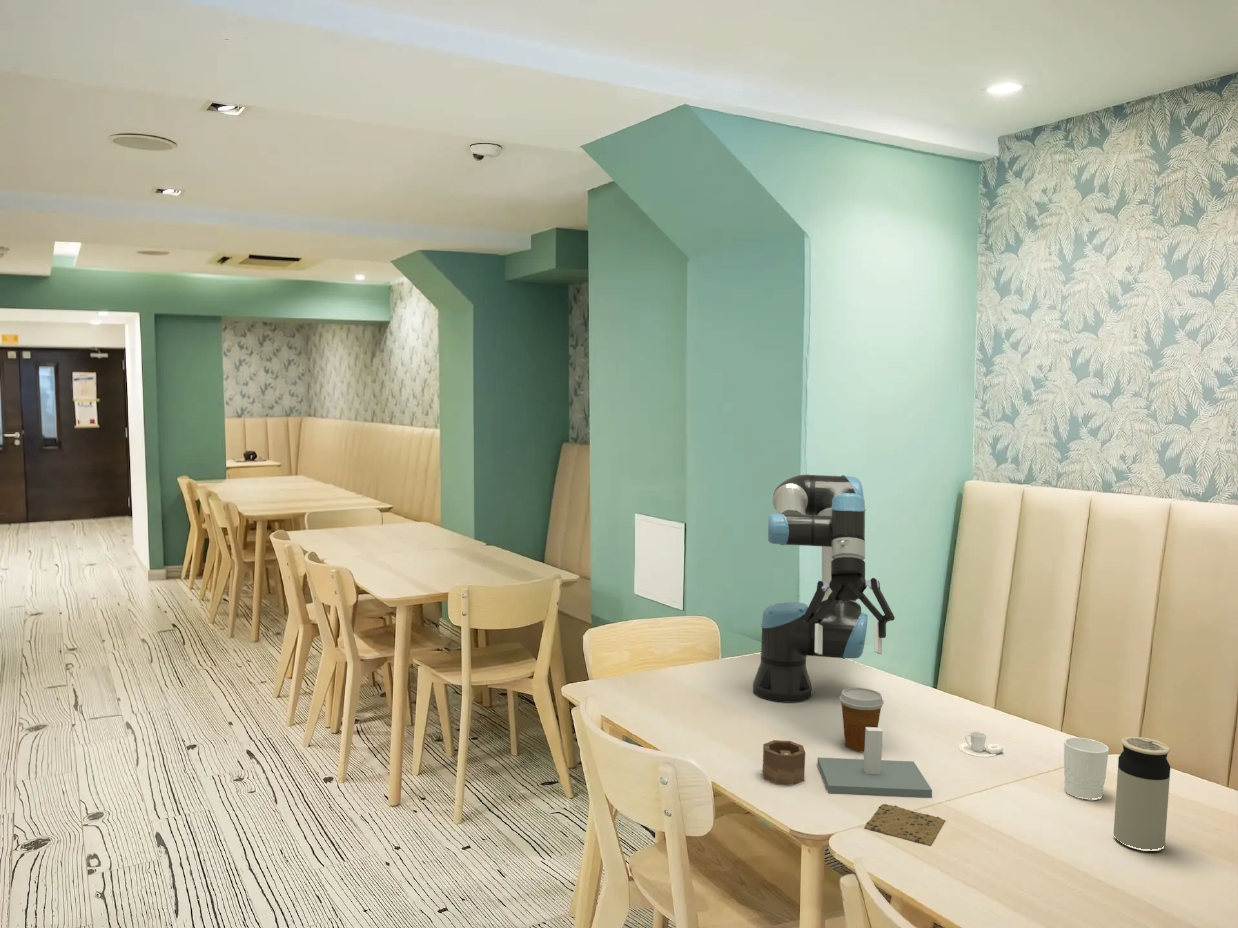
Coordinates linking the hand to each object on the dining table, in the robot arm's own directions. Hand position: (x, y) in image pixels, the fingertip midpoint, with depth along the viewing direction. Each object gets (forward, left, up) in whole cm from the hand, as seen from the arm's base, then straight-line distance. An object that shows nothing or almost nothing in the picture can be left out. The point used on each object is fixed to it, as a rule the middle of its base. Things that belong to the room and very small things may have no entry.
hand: (847, 653), depth 205 cm
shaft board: (+18, +3, -21) cm, 28 cm away
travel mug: (+40, +45, -21) cm, 63 cm away
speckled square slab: (+37, +5, -22) cm, 43 cm away
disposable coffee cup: (0, +4, -21) cm, 22 cm away
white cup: (+20, +44, -21) cm, 52 cm away
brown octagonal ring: (+18, -15, -21) cm, 32 cm away
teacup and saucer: (+2, +31, -22) cm, 38 cm away
